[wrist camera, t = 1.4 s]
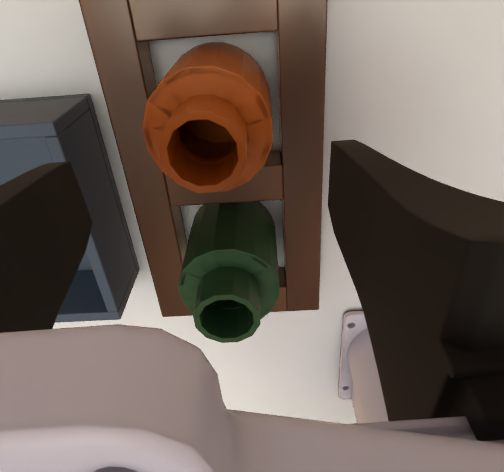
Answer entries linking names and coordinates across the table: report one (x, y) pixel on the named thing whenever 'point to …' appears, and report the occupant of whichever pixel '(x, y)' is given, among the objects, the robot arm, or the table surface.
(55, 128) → the basket
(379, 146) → the table surface
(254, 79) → the amber bottle
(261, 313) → the green bottle
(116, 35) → the rack
